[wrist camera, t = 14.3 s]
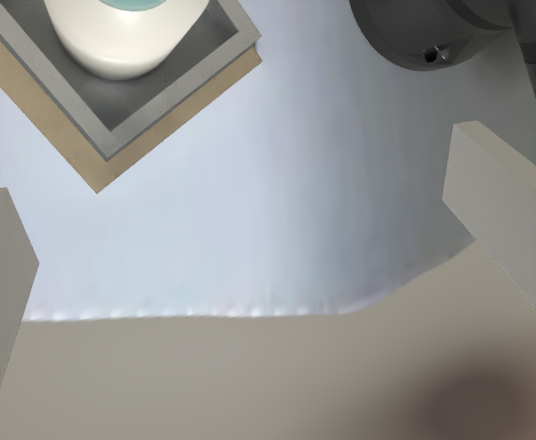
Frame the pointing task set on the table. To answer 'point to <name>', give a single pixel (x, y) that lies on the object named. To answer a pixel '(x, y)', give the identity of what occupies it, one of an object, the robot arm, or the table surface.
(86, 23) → the cream bottle
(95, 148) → the grey open box
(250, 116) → the table surface
